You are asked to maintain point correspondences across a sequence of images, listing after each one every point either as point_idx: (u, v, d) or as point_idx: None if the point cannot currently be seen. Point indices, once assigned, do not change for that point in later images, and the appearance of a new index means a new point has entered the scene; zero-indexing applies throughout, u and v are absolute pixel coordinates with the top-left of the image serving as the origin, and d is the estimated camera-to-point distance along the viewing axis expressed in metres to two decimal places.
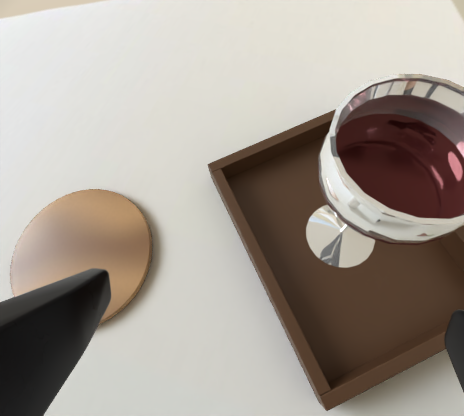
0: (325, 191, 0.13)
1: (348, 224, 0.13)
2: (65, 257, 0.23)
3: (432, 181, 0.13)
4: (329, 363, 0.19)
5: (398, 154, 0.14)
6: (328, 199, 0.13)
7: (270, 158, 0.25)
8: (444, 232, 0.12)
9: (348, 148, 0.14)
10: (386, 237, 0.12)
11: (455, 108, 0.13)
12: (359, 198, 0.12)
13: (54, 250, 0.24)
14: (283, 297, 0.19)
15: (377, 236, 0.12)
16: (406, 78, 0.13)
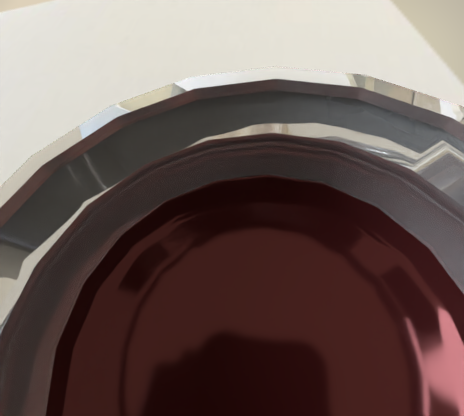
0: None
1: None
2: None
3: (382, 385, 0.04)
4: None
5: (279, 295, 0.05)
6: None
7: None
8: None
9: (145, 291, 0.05)
10: None
11: (408, 165, 0.04)
12: None
13: None
14: None
15: None
16: (229, 84, 0.04)
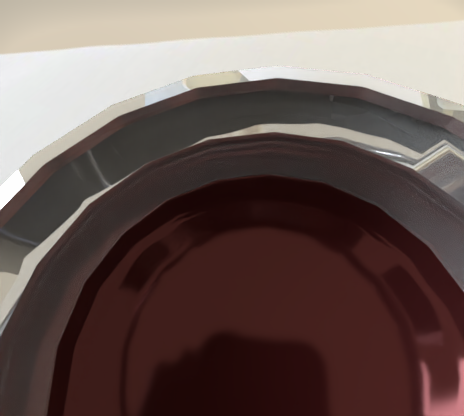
0: None
1: None
2: None
3: (383, 385, 0.04)
4: None
5: (280, 295, 0.05)
6: None
7: None
8: None
9: (146, 290, 0.05)
10: None
11: (409, 164, 0.04)
12: None
13: None
14: None
15: None
16: (231, 83, 0.04)
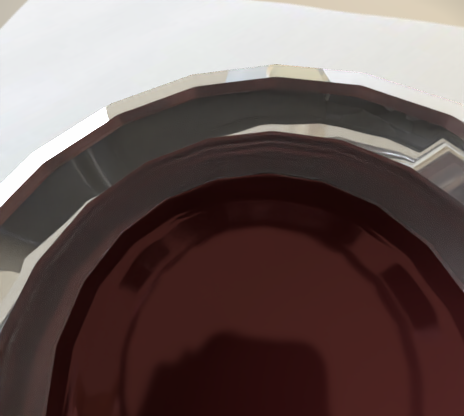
0: None
1: None
2: None
3: (382, 383, 0.04)
4: None
5: (279, 294, 0.05)
6: None
7: None
8: None
9: (145, 289, 0.05)
10: None
11: (408, 163, 0.04)
12: None
13: None
14: None
15: None
16: (229, 82, 0.04)
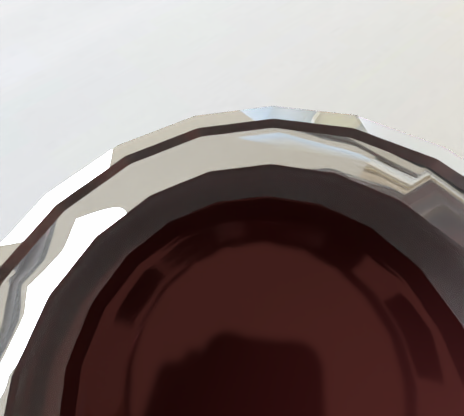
0: None
1: None
2: None
3: (375, 401, 0.05)
4: None
5: (278, 315, 0.05)
6: None
7: None
8: None
9: (150, 311, 0.05)
10: None
11: (398, 196, 0.04)
12: None
13: None
14: None
15: None
16: (229, 124, 0.04)
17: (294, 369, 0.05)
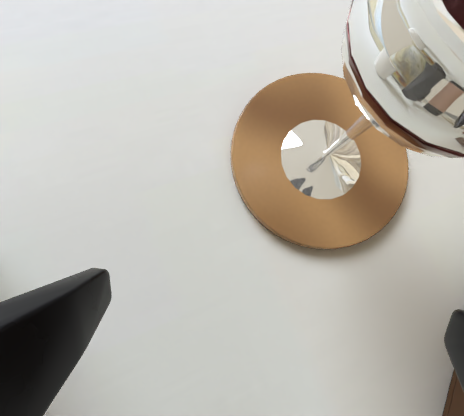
0: (356, 33, 0.08)
1: (372, 99, 0.08)
2: None
3: None
4: None
5: None
6: (356, 48, 0.08)
7: None
8: None
9: None
10: (426, 128, 0.08)
11: None
12: (421, 37, 0.07)
13: None
14: None
15: (412, 124, 0.08)
16: None
17: None
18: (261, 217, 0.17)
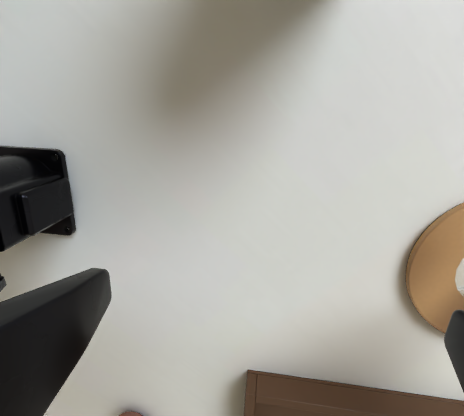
0: None
1: None
2: None
3: None
4: None
5: None
6: None
7: None
8: None
9: None
10: None
11: None
12: None
13: None
14: (328, 413, 0.23)
15: None
16: None
17: None
18: (426, 240, 0.19)
